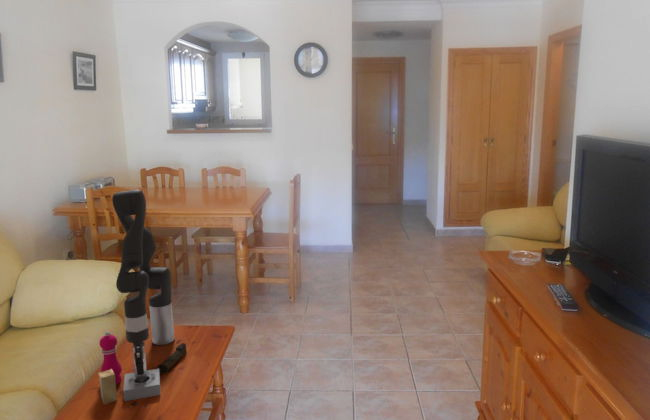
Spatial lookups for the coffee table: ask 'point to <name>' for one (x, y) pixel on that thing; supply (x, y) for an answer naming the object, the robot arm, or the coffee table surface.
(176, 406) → the coffee table surface
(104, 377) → the pale wooden block
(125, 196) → the robot arm
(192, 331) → the coffee table surface
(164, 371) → the hand tool
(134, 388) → the bore block
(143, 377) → the round bit
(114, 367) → the pepper mill
